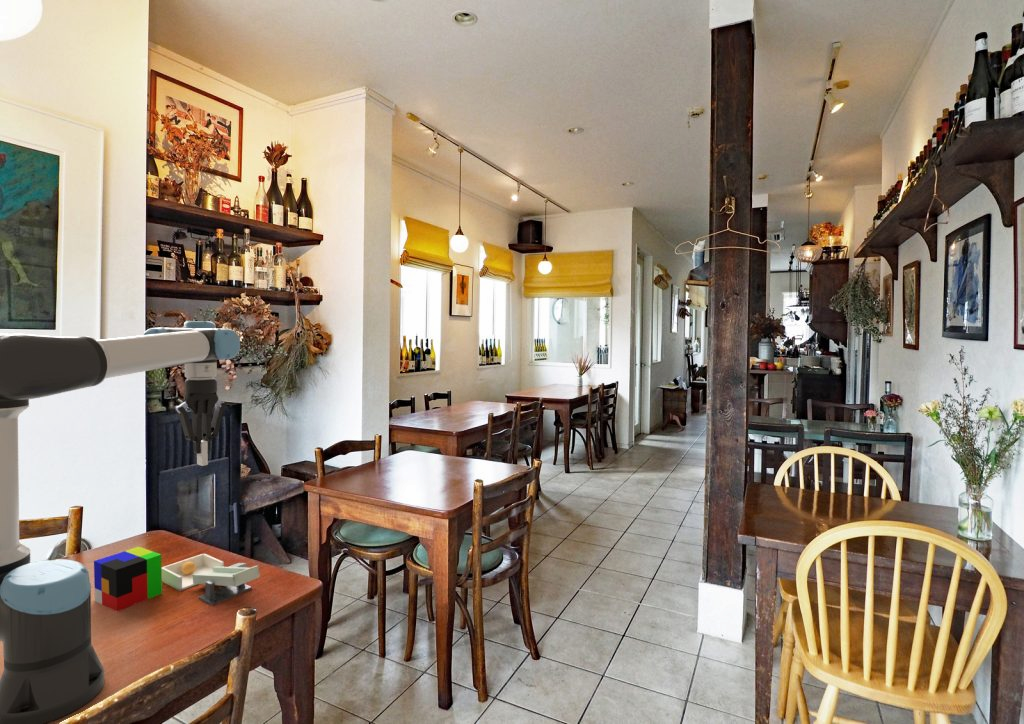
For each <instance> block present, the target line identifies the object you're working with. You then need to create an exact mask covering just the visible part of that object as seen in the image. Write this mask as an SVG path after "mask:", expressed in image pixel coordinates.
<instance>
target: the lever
mask: <svg viewBox="0 0 1024 724" xmlns="http://www.w3.org/2000/svg"><path fill="white" fill-rule="evenodd" d="M260 577H261V574H260V568H259V565H253V566H252V567H248V565H247V563H246V562H238V563H234V564H232V565H230V566H224V567H219V566H215V567H213V572H212V573H209V574H193V575H192V578H193V584H197V585H205V582H207V581H212V582H214V586H222V587H224V586H234V587H236V586H239V585H241V584H244V583H245V584H246V583H248V582H251V581H254V580H255V579H258V578H260Z"/></svg>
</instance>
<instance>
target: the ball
mask: <svg viewBox="0 0 1024 724" xmlns="http://www.w3.org/2000/svg"><path fill="white" fill-rule="evenodd" d="M195 568H196V566H195V564H194V563H193V562H187V563H185V564H184V565H183V566H182V572H183V573H184V574H191V573H193V572H194V571H195Z"/></svg>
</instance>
